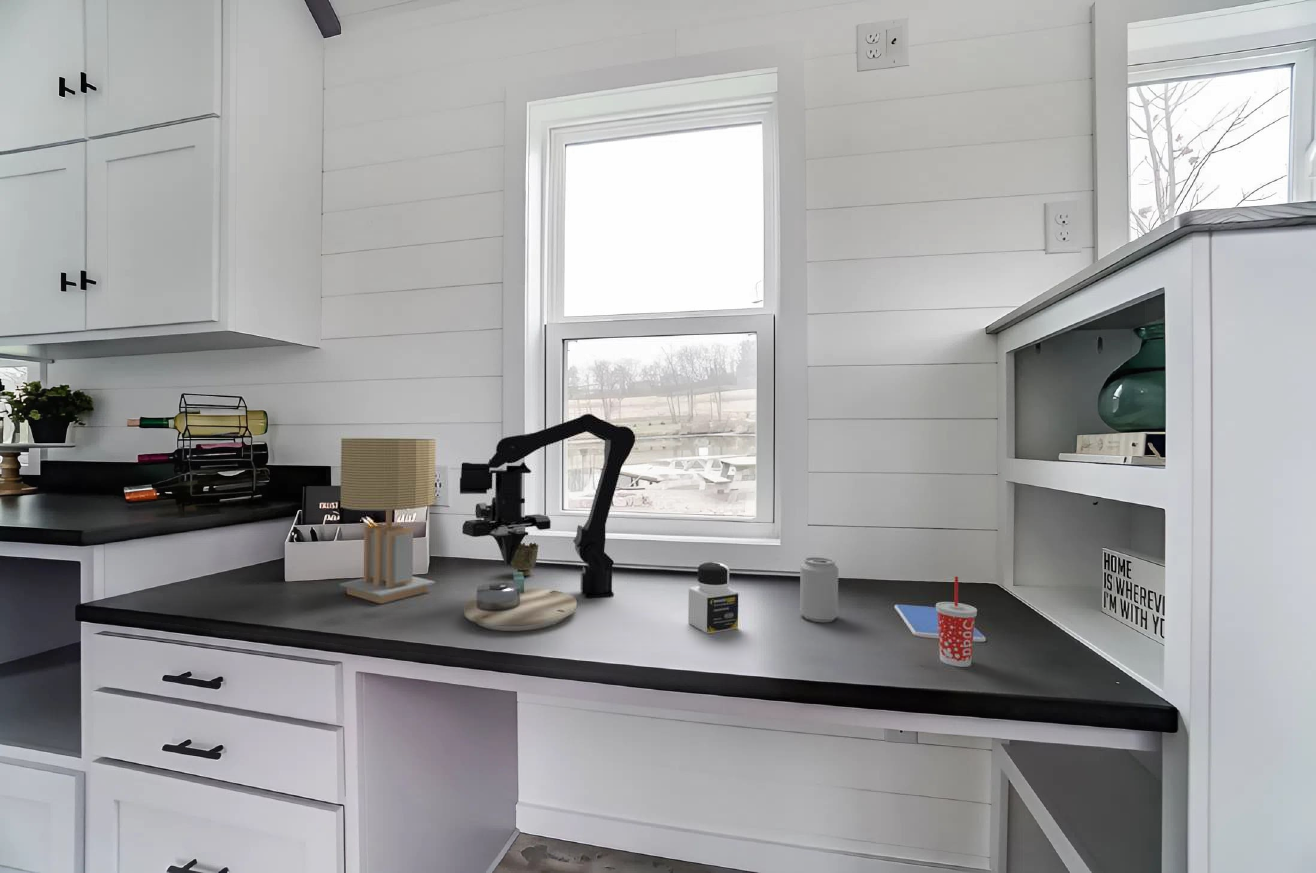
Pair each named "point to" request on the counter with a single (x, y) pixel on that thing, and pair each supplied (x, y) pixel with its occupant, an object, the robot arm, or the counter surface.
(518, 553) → the cup
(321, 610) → the counter surface
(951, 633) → the beverage cup
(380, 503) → the desk lamp
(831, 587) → the can
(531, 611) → the turntable
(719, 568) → the medicine bottle
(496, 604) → the iron cover
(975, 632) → the tablet computer
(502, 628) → the turntable base
